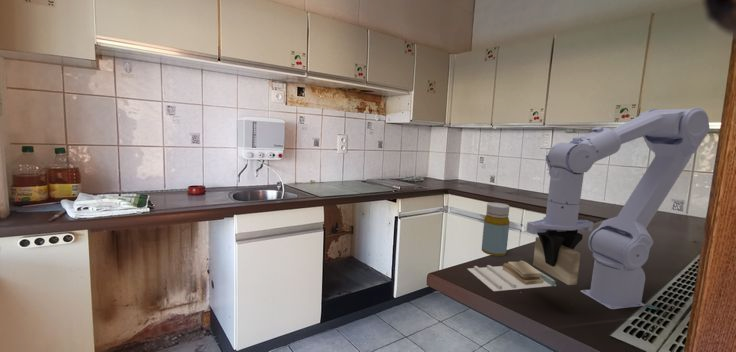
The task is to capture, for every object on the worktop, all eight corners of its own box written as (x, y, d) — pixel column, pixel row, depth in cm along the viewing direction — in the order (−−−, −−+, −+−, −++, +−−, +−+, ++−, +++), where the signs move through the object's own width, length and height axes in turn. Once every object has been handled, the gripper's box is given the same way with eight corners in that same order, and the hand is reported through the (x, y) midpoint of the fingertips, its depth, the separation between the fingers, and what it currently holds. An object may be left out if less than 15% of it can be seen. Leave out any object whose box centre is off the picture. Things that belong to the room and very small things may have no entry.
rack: (522, 266, 91) (523, 260, 91) (556, 287, 80) (557, 280, 80) (466, 270, 88) (467, 264, 87) (493, 293, 76) (494, 286, 76)
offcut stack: (519, 267, 89) (520, 258, 89) (544, 283, 81) (545, 273, 80) (501, 268, 88) (502, 260, 88) (524, 284, 80) (525, 275, 79)
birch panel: (540, 264, 76) (543, 236, 75) (576, 284, 66) (580, 253, 65) (532, 264, 76) (535, 237, 75) (568, 285, 66) (572, 253, 65)
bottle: (499, 249, 104) (504, 202, 102) (510, 258, 97) (515, 208, 95) (477, 248, 104) (482, 201, 101) (486, 257, 97) (491, 207, 95)
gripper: (576, 196, 74) (568, 254, 76) (519, 197, 71) (513, 258, 73) (605, 204, 67) (596, 268, 69) (544, 206, 64) (536, 272, 66)
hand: (555, 264), depth 70 cm, fingers closed on birch panel, 2 cm apart
